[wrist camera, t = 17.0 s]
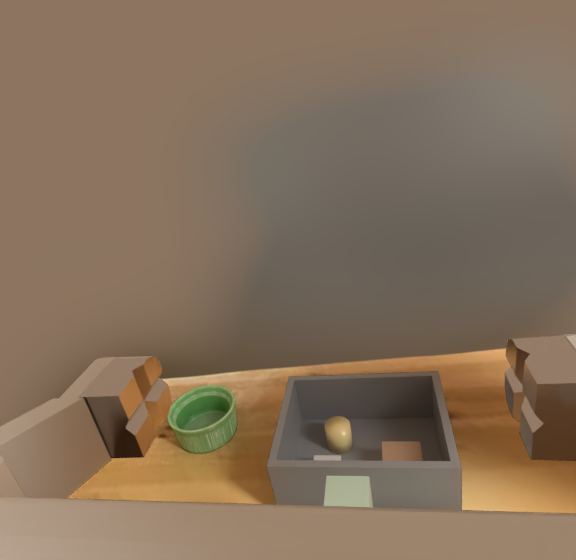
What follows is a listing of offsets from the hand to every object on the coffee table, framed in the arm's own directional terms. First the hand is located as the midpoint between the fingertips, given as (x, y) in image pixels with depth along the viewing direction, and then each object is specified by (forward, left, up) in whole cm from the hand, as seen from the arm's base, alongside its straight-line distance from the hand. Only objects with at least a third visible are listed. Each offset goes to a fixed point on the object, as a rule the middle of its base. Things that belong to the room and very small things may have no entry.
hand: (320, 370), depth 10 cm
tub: (+2, -28, -34) cm, 44 cm away
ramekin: (+23, -33, -34) cm, 53 cm away
